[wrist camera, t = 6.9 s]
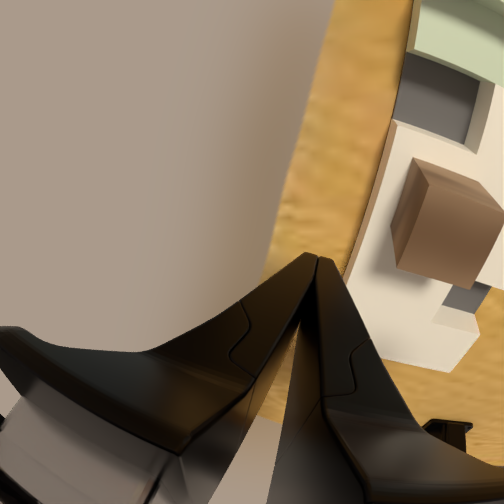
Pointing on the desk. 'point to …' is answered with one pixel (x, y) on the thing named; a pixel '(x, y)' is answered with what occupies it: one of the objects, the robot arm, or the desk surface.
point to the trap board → (444, 155)
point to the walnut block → (444, 225)
